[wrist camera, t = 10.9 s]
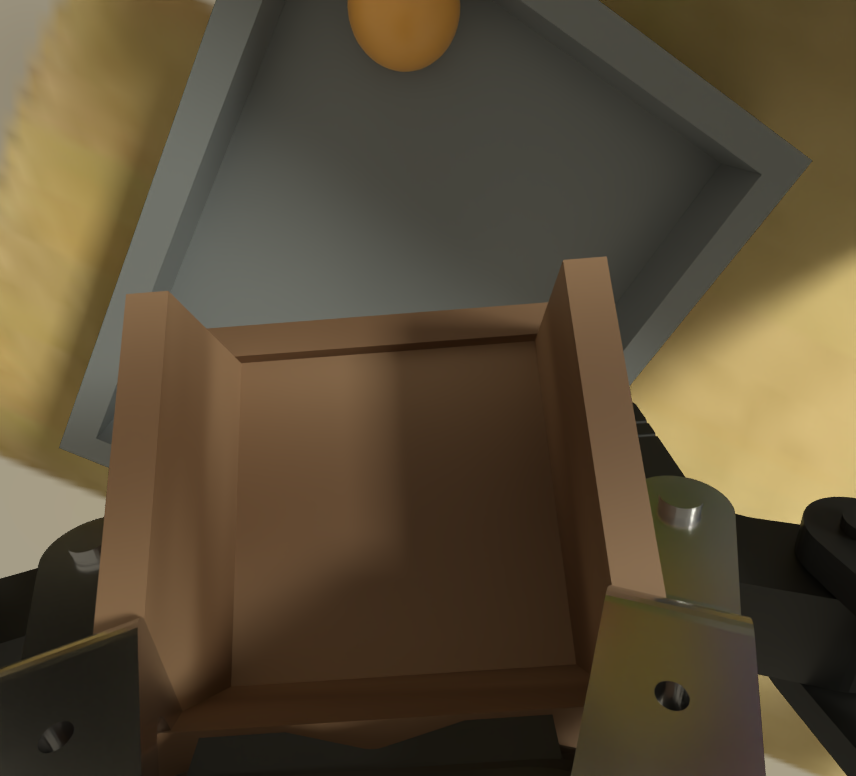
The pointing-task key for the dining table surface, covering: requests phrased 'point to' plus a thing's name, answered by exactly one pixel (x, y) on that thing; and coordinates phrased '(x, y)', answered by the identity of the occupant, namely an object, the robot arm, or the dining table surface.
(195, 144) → the tray
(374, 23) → the ball
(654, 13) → the dining table surface
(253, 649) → the wooden box
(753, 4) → the dining table surface
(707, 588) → the robot arm
